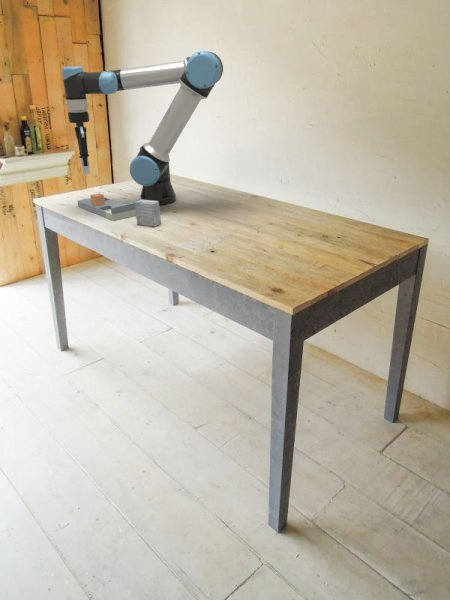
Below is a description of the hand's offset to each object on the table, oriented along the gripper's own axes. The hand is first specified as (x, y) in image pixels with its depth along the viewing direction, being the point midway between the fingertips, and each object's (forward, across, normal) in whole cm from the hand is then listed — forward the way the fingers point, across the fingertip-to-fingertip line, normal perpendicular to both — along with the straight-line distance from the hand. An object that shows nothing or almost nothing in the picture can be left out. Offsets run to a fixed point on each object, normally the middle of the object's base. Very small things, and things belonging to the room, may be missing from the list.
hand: (86, 173), depth 200 cm
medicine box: (+15, +31, +17) cm, 38 cm away
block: (+12, +3, +3) cm, 13 cm away
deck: (+15, +4, +6) cm, 16 cm away
